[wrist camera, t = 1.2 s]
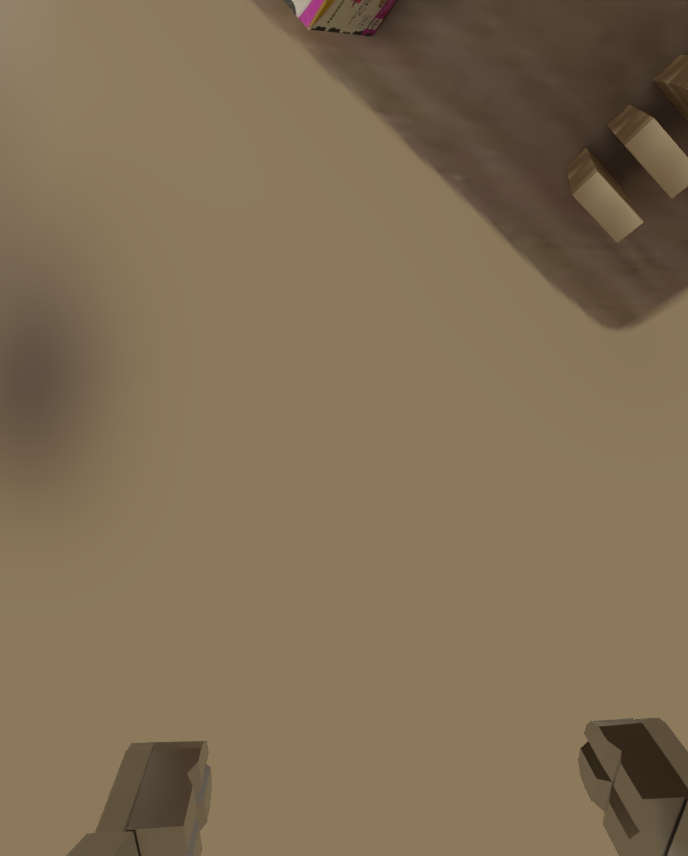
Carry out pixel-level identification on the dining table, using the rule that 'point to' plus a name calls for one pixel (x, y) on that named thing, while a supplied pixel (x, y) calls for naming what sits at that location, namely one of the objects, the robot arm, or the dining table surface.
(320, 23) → the candy bar box
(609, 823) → the robot arm
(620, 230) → the cream domino
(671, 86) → the cream domino
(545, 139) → the dining table surface
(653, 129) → the cream domino
